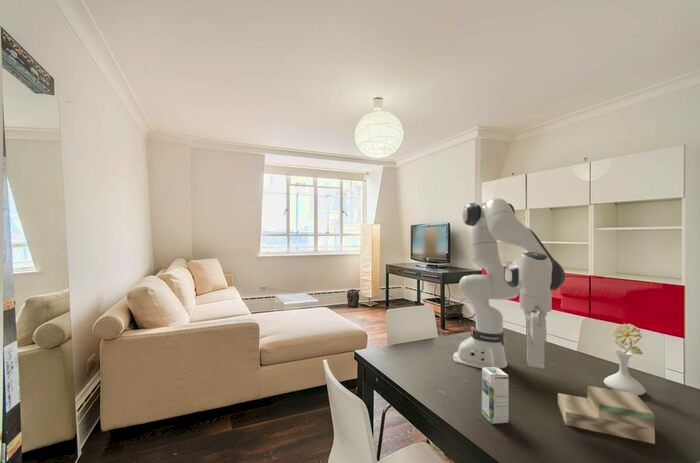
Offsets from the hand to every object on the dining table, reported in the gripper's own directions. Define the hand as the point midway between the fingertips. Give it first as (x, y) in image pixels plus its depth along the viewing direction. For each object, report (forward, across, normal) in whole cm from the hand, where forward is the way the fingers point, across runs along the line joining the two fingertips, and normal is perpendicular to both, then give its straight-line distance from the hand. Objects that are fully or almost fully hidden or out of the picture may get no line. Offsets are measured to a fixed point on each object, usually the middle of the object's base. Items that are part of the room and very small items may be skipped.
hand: (535, 346), depth 99 cm
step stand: (+21, +1, -17) cm, 27 cm away
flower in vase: (+21, +28, -31) cm, 47 cm away
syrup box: (+21, -10, +12) cm, 26 cm away
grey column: (+6, 0, 0) cm, 6 cm away
